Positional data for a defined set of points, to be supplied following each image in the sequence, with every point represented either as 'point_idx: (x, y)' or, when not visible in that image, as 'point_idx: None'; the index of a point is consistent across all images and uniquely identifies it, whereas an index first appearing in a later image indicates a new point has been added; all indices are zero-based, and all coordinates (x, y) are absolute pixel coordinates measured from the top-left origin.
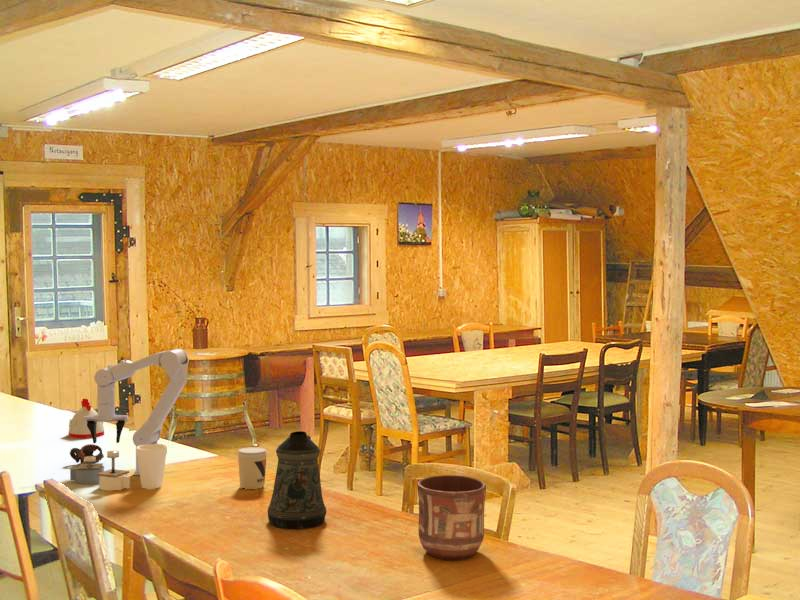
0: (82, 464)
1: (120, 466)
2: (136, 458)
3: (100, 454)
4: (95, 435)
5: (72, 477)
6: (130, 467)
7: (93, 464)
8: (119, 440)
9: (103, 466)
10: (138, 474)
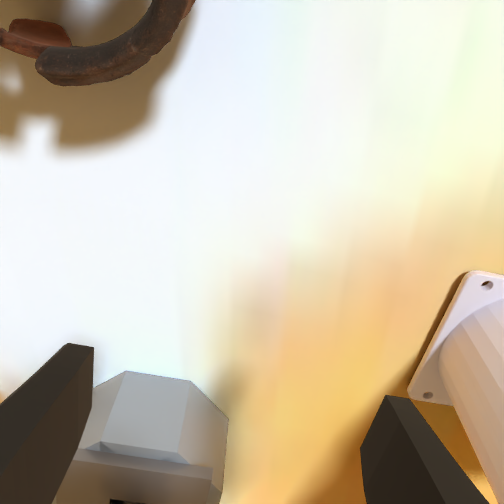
0: (71, 474)
1: (379, 75)
2: (476, 449)
3: (176, 24)
4: (44, 471)
5: None
6: (453, 145)
7: (149, 491)
8: (417, 418)
9: (218, 496)
10: (435, 402)
